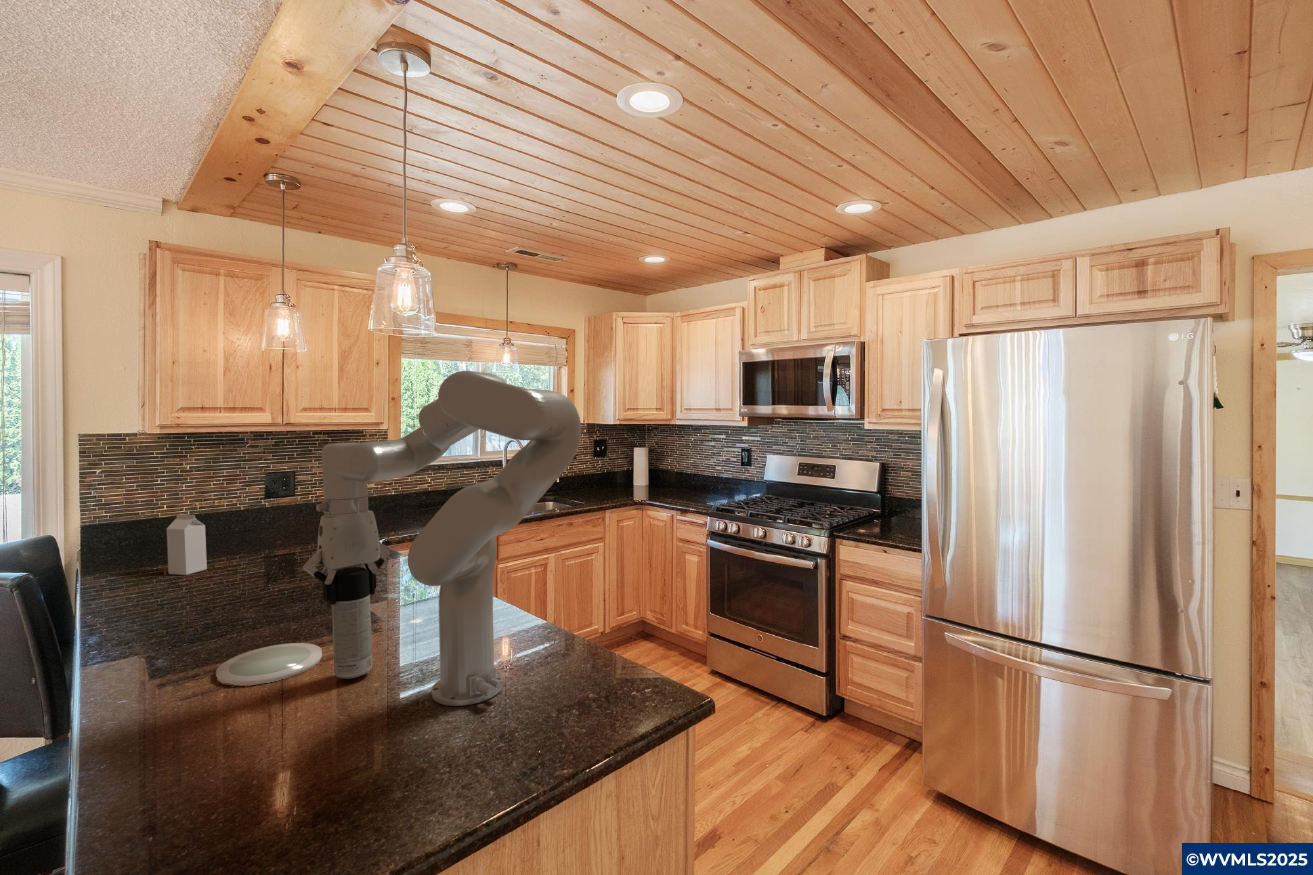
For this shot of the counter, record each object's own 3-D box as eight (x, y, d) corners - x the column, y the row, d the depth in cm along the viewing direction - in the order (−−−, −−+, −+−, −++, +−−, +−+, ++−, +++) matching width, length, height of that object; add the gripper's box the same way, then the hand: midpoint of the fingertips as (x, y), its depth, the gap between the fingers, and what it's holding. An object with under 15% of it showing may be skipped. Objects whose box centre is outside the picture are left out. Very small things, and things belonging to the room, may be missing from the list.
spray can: (363, 661, 119) (359, 564, 118) (379, 670, 115) (374, 569, 114) (328, 673, 114) (323, 571, 113) (343, 682, 109) (338, 577, 109)
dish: (336, 662, 121) (336, 656, 121) (232, 695, 107) (232, 688, 107) (302, 641, 132) (302, 636, 132) (204, 669, 118) (204, 662, 118)
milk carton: (186, 575, 189) (183, 516, 188) (168, 574, 190) (165, 516, 189) (207, 569, 196) (204, 513, 195) (189, 568, 197) (187, 512, 196)
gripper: (305, 515, 104) (309, 614, 105) (399, 502, 117) (403, 590, 118) (289, 511, 109) (293, 606, 109) (382, 499, 122) (385, 584, 123)
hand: (350, 597), depth 114 cm, fingers closed on spray can, 6 cm apart
